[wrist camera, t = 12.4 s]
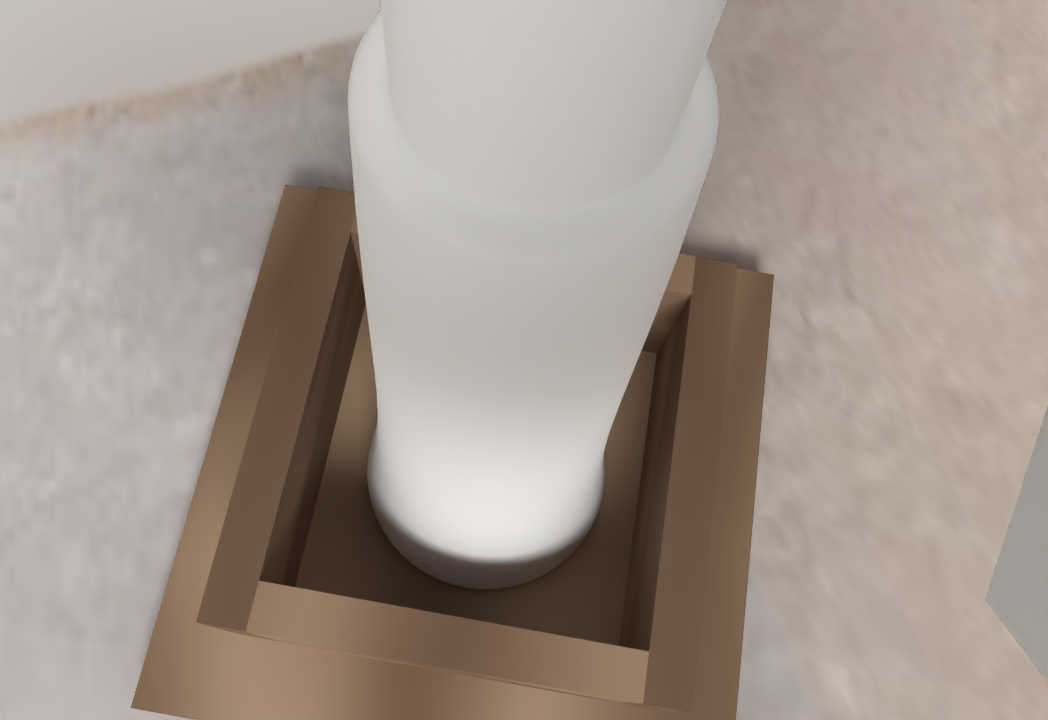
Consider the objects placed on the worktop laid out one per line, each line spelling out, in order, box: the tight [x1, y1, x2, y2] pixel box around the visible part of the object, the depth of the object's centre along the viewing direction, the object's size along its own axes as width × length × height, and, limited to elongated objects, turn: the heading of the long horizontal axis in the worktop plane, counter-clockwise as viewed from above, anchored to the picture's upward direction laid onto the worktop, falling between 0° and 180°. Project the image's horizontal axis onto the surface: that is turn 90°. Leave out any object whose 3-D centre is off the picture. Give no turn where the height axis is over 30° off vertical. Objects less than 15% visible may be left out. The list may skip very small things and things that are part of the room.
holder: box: [131, 185, 774, 720], centre depth 23 cm, size 14×14×5 cm
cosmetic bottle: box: [348, 0, 728, 589], centre depth 14 cm, size 6×6×22 cm
